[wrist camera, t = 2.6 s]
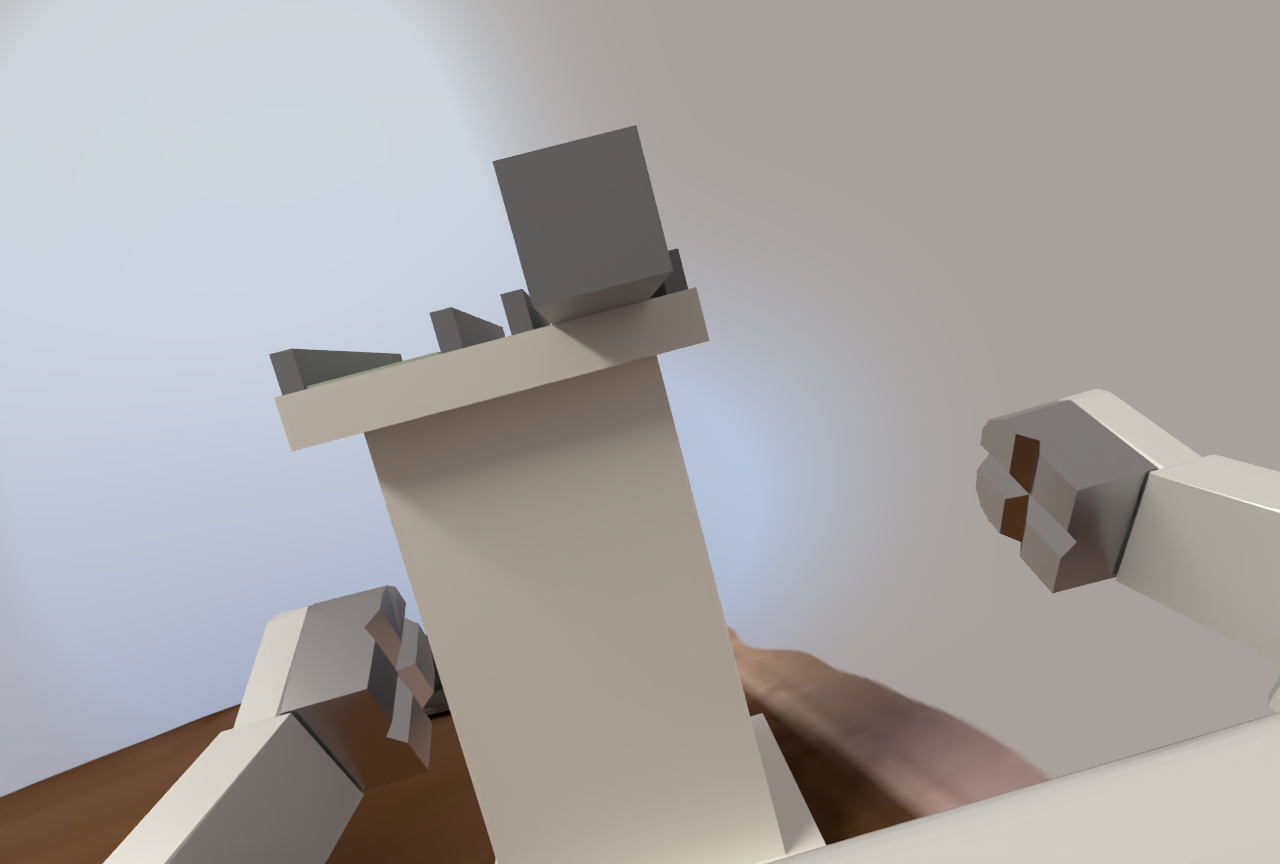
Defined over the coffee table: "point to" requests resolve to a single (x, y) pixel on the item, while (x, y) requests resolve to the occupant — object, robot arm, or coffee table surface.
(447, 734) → the coffee table surface
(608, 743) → the tester stand
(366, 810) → the coffee table surface
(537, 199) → the long grey square bar
